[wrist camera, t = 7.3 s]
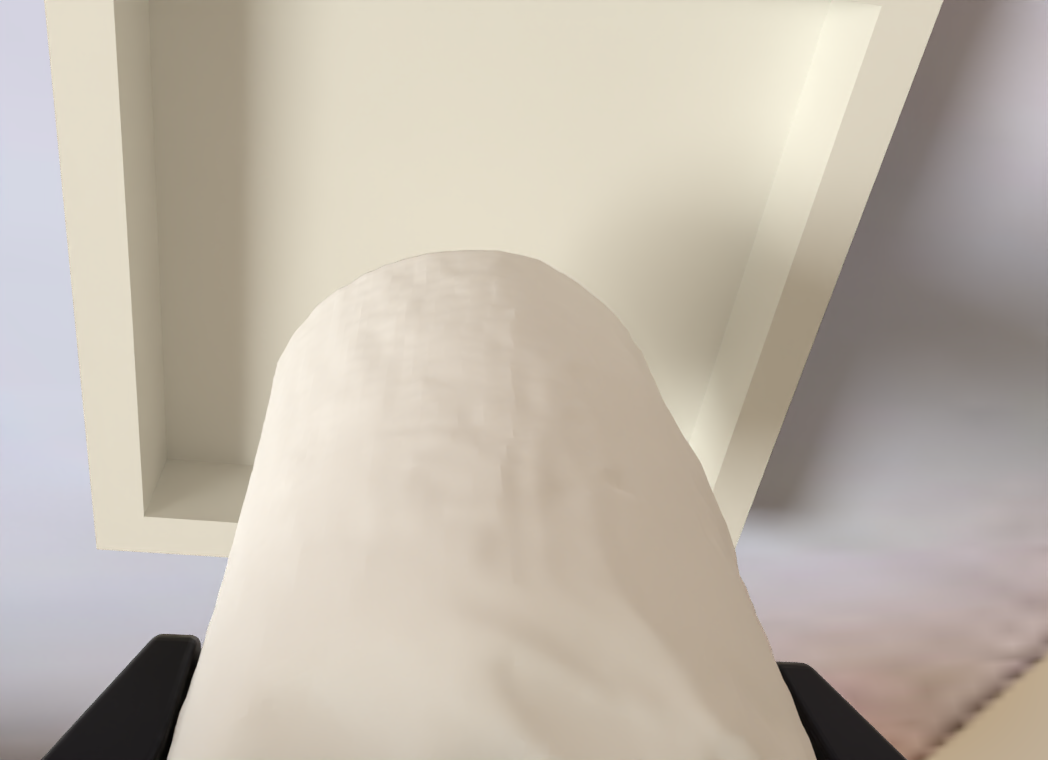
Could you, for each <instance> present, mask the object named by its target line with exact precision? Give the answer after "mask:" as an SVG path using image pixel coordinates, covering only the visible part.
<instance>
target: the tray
mask: <svg viewBox="0 0 1048 760" xmlns="http://www.w3.org/2000/svg"><path fill="white" fill-rule="evenodd" d="M44 3H45V13H46V24H47V34H48V45H49V55H50V65H51V76H52V86H53V97H54V107H55V118H56V128H57V139H58V149H59V159H60V170H61V180H62V191H63V201H64V212H65V222H66V232H67V243H68V253H69V264H70V274H71V285H72V295H73V305H74V316H75V326H76V337H77V347H78V358H79V368H80V378H81V389H82V399H83V410H84V420H85V431H86V441H87V452H88V462H89V472H90V483H91V493H92V504H93V514H94V525H95V535H96V545H97V549H102V550H118V551H134V552H150V553H166V554H182V555H198V556H214V557H229V554H230V551H231V548H232V545H233V541H234V537H235V532H236V528H237V524H238V521H239V517H240V514H241V510H242V506H243V503H244V500H245V496H246V492H247V489H248V485H249V480H250V477H251V473H252V471H253V466H254V461H255V457H256V454H257V450H258V446H259V442H260V439H261V434H262V429H263V424H264V421H265V417H266V412H267V408H268V404H269V400H270V396H271V390H272V384H273V378H274V375H275V372H276V367H277V362H278V361H279V359H280V357H281V355H282V353H283V352H284V350H285V348H286V346H287V344H288V342H289V340H290V339H291V337H292V336H293V334H294V333H295V331H296V330H297V329H298V328H299V327H300V326H301V325H302V324H303V323H304V322H305V320H306V319H307V318H308V317H309V315H310V314H311V313H312V311H313V310H314V309H315V308H316V306H317V305H318V304H319V303H321V302H322V301H323V300H325V299H326V298H327V297H329V296H330V295H331V294H332V293H333V292H335V291H336V290H337V289H339V288H341V287H344V286H346V285H348V284H350V283H351V282H353V281H354V280H355V279H357V278H358V277H360V276H361V275H363V274H365V273H367V272H369V271H373V270H375V269H377V268H379V267H381V266H383V265H385V264H389V263H393V262H396V261H399V260H402V259H404V258H409V257H414V256H418V255H422V254H425V253H434V252H442V251H459V250H498V251H504V252H508V253H513V254H519V255H523V256H527V257H531V258H534V259H538V260H540V261H542V262H544V263H546V264H548V265H549V266H551V267H552V268H554V269H555V270H557V271H559V272H561V273H563V274H565V275H567V276H568V277H570V278H571V279H573V280H574V281H576V282H577V283H579V284H580V285H581V286H583V287H584V288H585V289H586V290H587V291H589V292H590V293H591V294H592V295H594V296H595V297H596V298H598V299H599V300H600V301H601V302H603V303H604V304H605V305H606V306H607V307H608V308H609V309H610V310H611V311H612V312H613V313H614V314H615V315H616V316H617V317H618V318H619V320H620V321H621V322H622V324H623V325H624V326H625V327H626V328H627V330H628V331H629V333H630V335H631V338H632V340H633V341H634V343H635V344H636V345H637V347H638V348H639V349H640V350H641V351H642V352H643V355H644V358H645V360H646V362H647V363H648V366H649V369H650V372H651V374H652V376H653V378H654V380H655V382H656V384H657V386H658V389H659V391H660V394H661V396H662V398H663V400H664V402H665V404H666V406H667V408H668V409H669V411H670V412H671V414H672V416H673V418H674V420H675V422H676V423H677V425H678V427H679V429H680V430H681V432H682V434H683V436H684V437H685V439H686V440H687V442H688V443H689V445H690V446H691V448H692V449H693V451H694V452H695V454H696V456H697V457H698V459H699V460H700V462H701V464H702V466H703V469H704V472H705V474H706V476H707V479H708V482H709V484H710V487H711V489H712V492H713V494H714V496H715V498H716V500H717V503H718V505H719V508H720V510H721V513H722V515H723V517H724V519H725V521H726V523H727V526H728V529H729V533H730V536H731V539H732V542H733V545H734V548H735V547H736V545H737V542H738V540H739V537H740V534H741V532H742V529H743V526H744V524H745V521H746V519H747V516H748V513H749V511H750V508H751V505H752V503H753V500H754V497H755V495H756V492H757V490H758V487H759V484H760V482H761V479H762V476H763V474H764V471H765V469H766V466H767V463H768V461H769V458H770V455H771V453H772V450H773V447H774V445H775V442H776V440H777V437H778V434H779V432H780V429H781V426H782V424H783V421H784V419H785V416H786V413H787V411H788V408H789V405H790V403H791V400H792V398H793V395H794V392H795V390H796V387H797V384H798V382H799V379H800V376H801V374H802V371H803V369H804V366H805V363H806V361H807V358H808V355H809V353H810V350H811V348H812V345H813V342H814V340H815V337H816V334H817V332H818V329H819V326H820V324H821V321H822V319H823V316H824V313H825V311H826V308H827V305H828V303H829V300H830V298H831V295H832V292H833V290H834V287H835V284H836V282H837V279H838V277H839V274H840V271H841V269H842V266H843V263H844V261H845V258H846V255H847V253H848V250H849V248H850V245H851V242H852V240H853V237H854V234H855V232H856V229H857V227H858V224H859V221H860V219H861V216H862V213H863V211H864V208H865V206H866V203H867V200H868V198H869V195H870V192H871V190H872V187H873V184H874V182H875V179H876V177H877V174H878V171H879V169H880V166H881V163H882V161H883V158H884V156H885V153H886V150H887V148H888V145H889V142H890V140H891V137H892V134H893V132H894V129H895V127H896V124H897V121H898V119H899V116H900V113H901V111H902V108H903V106H904V103H905V100H906V98H907V95H908V92H909V90H910V87H911V85H912V82H913V79H914V77H915V74H916V71H917V69H918V66H919V63H920V61H921V58H922V56H923V53H924V50H925V48H926V45H927V42H928V40H929V37H930V35H931V32H932V29H933V27H934V24H935V21H936V19H937V16H938V13H939V11H940V8H941V6H942V3H943V0H44Z"/></svg>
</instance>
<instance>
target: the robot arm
mask: <svg viewBox="0 0 1048 760" xmlns="http://www.w3.org/2000/svg"><path fill="white" fill-rule="evenodd" d="M200 651H201V643H200V640H199V638H197V637H196V636H193V635H177V634H160V635H157V636H155V637H154V638H152V639H151V640H150V641H149V643H148V644H147V645H146V646H145V647H144V648H143V649H142V650H141V651H140V652H139V653H138V655H137V656H136V657H135V658H134V659H133V660H132V661H131V662H130V663H129V664H128V665H127V667H126V668H125V669H124V670H123V671H122V672H121V673H120V674H119V675H118V676H117V677H116V679H115V680H114V681H113V682H112V683H111V684H110V685H109V686H108V687H107V688H106V690H105V691H104V692H103V693H102V694H101V695H100V696H99V697H98V698H97V699H96V700H95V702H94V703H93V704H92V705H91V706H90V707H89V708H88V709H87V710H86V711H85V712H84V714H83V715H82V716H81V717H80V718H79V719H78V720H77V721H76V722H75V723H74V724H73V726H72V727H71V728H70V729H69V730H68V731H67V732H66V733H65V734H64V735H63V736H62V738H61V739H60V740H59V741H58V742H57V743H56V744H55V745H54V746H53V747H52V748H51V750H50V751H49V752H48V753H47V754H46V755H45V756H44V757H43V758H42V759H41V760H167V757H168V753H169V750H170V747H171V744H172V738H173V734H174V730H175V727H176V723H177V719H178V716H179V712H180V710H181V708H182V705H183V703H184V701H185V699H186V696H187V693H188V690H189V687H190V683H191V680H192V677H193V674H194V672H195V669H196V666H197V663H198V659H199V656H200ZM776 663H777V666H778V668H779V670H780V673H781V675H782V678H783V680H784V682H785V684H786V685H787V687H788V689H789V691H790V693H791V696H792V698H793V701H794V704H795V707H796V710H797V713H798V716H799V718H800V721H801V723H802V725H803V727H804V729H805V731H806V733H807V735H808V737H809V739H810V742H811V745H812V748H813V751H814V754H815V756H816V759H817V760H907V759H906V758H905V757H903V756H902V755H901V754H900V753H899V752H898V751H897V750H896V749H895V748H894V747H893V746H892V745H891V744H890V743H889V742H888V741H887V740H886V739H885V738H884V737H883V736H882V735H881V734H880V733H879V732H878V731H877V730H876V729H875V728H874V727H873V726H872V725H871V724H870V723H869V722H868V721H867V720H866V719H865V718H863V717H862V716H861V715H860V714H859V713H858V712H857V711H856V710H855V709H854V708H853V707H852V706H851V705H850V704H849V703H848V702H847V701H846V700H845V699H844V698H843V697H842V696H841V695H840V694H839V693H838V692H837V691H836V690H835V689H834V688H833V687H832V686H831V685H830V684H829V683H828V682H827V681H826V680H825V679H823V678H822V677H821V676H820V675H819V674H818V673H817V672H816V671H815V670H814V669H813V668H812V667H810V666H809V665H807V664H804V663H797V662H776Z"/></svg>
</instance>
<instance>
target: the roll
mask: <svg viewBox="0 0 1048 760" xmlns="http://www.w3.org/2000/svg"><path fill="white" fill-rule="evenodd" d="M167 760H817V759H816V756H815V754H814V751H813V748H812V745H811V742H810V739H809V737H808V735H807V733H806V731H805V729H804V727H803V725H802V723H801V721H800V718H799V716H798V713H797V710H796V707H795V704H794V701H793V698H792V696H791V693H790V691H789V689H788V687H787V685H786V684H785V682H784V680H783V678H782V675H781V673H780V670H779V668H778V666H777V663H776V661H775V659H774V656H773V653H772V649H771V646H770V644H769V641H768V638H767V636H766V634H765V632H764V629H763V627H762V625H761V623H760V621H759V620H758V618H757V616H756V612H755V609H754V606H753V604H752V601H751V599H750V597H749V594H748V591H747V588H746V586H745V584H744V582H743V581H742V579H741V577H740V575H739V570H738V566H737V558H736V552H735V548H734V545H733V542H732V539H731V536H730V533H729V529H728V526H727V523H726V521H725V519H724V517H723V515H722V513H721V510H720V508H719V505H718V503H717V500H716V498H715V496H714V494H713V492H712V489H711V487H710V484H709V482H708V479H707V476H706V474H705V472H704V469H703V466H702V464H701V462H700V460H699V459H698V457H697V456H696V454H695V452H694V451H693V449H692V448H691V446H690V445H689V443H688V442H687V440H686V439H685V437H684V436H683V434H682V432H681V430H680V429H679V427H678V425H677V423H676V422H675V420H674V418H673V416H672V414H671V412H670V411H669V409H668V408H667V406H666V404H665V402H664V400H663V398H662V396H661V394H660V391H659V389H658V386H657V384H656V382H655V380H654V378H653V376H652V374H651V372H650V369H649V366H648V363H647V362H646V360H645V358H644V355H643V352H642V351H641V350H640V349H639V348H638V347H637V345H636V344H635V343H634V341H633V340H632V338H631V335H630V333H629V331H628V330H627V328H626V327H625V326H624V325H623V324H622V322H621V321H620V320H619V318H618V317H617V316H616V315H615V314H614V313H613V312H612V311H611V310H610V309H609V308H608V307H607V306H606V305H605V304H604V303H603V302H601V301H600V300H599V299H598V298H596V297H595V296H594V295H592V294H591V293H590V292H589V291H587V290H586V289H585V288H584V287H583V286H581V285H580V284H579V283H577V282H576V281H574V280H573V279H571V278H570V277H568V276H567V275H565V274H563V273H561V272H559V271H557V270H555V269H554V268H552V267H551V266H549V265H548V264H546V263H544V262H542V261H540V260H538V259H534V258H531V257H527V256H523V255H519V254H513V253H508V252H504V251H498V250H459V251H442V252H434V253H425V254H422V255H418V256H414V257H409V258H404V259H402V260H399V261H396V262H393V263H389V264H385V265H383V266H381V267H379V268H377V269H375V270H373V271H369V272H367V273H365V274H363V275H361V276H360V277H358V278H357V279H355V280H354V281H353V282H351V283H350V284H348V285H346V286H344V287H341V288H339V289H337V290H336V291H335V292H333V293H332V294H331V295H330V296H329V297H327V298H326V299H325V300H323V301H322V302H321V303H319V304H318V305H317V306H316V308H315V309H314V310H313V311H312V313H311V314H310V315H309V317H308V318H307V319H306V320H305V322H304V323H303V324H302V325H301V326H300V327H299V328H298V329H297V330H296V331H295V333H294V334H293V336H292V337H291V339H290V340H289V342H288V344H287V346H286V348H285V350H284V352H283V353H282V355H281V357H280V359H279V361H278V362H277V367H276V372H275V375H274V378H273V384H272V390H271V396H270V400H269V404H268V408H267V412H266V417H265V421H264V424H263V429H262V434H261V439H260V442H259V446H258V450H257V454H256V457H255V461H254V466H253V471H252V473H251V477H250V480H249V485H248V489H247V492H246V496H245V500H244V503H243V506H242V510H241V514H240V517H239V521H238V524H237V528H236V532H235V537H234V541H233V545H232V548H231V551H230V554H229V558H228V563H227V567H226V571H225V575H224V578H223V581H222V584H221V587H220V590H219V594H218V597H217V601H216V605H215V609H214V612H213V615H212V618H211V620H210V623H209V625H208V628H207V632H206V637H205V640H204V643H203V646H202V649H201V651H200V656H199V659H198V663H197V666H196V669H195V672H194V674H193V677H192V680H191V683H190V687H189V690H188V693H187V696H186V699H185V701H184V703H183V705H182V708H181V710H180V712H179V716H178V719H177V723H176V727H175V730H174V734H173V738H172V744H171V747H170V750H169V753H168V757H167Z"/></svg>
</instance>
